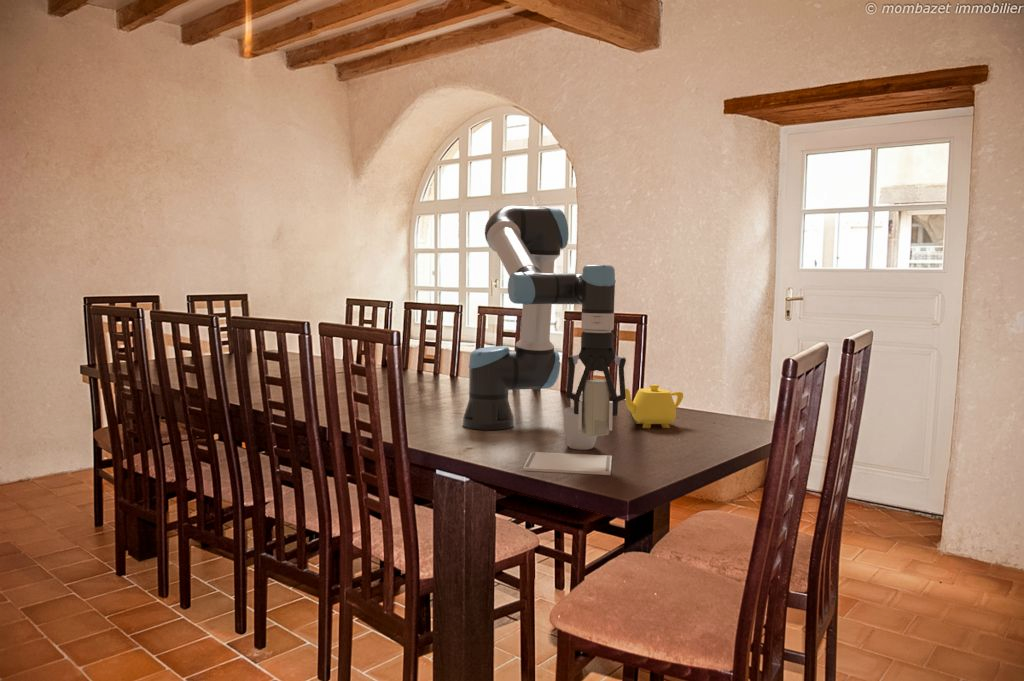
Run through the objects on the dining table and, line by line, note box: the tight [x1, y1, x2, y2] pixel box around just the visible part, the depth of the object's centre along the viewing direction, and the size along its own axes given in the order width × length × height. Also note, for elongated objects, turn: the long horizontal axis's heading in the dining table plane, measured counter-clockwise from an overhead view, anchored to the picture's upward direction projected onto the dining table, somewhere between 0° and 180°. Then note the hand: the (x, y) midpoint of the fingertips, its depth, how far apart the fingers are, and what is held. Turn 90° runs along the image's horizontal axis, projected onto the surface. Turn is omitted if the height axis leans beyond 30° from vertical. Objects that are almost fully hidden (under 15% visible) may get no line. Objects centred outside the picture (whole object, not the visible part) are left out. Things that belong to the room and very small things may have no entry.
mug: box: [563, 406, 598, 451], centre depth 196 cm, size 13×9×10 cm
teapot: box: [625, 383, 684, 429], centre depth 225 cm, size 13×20×12 cm
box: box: [581, 379, 610, 437], centre depth 175 cm, size 5×4×13 cm
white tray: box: [522, 451, 613, 476], centre depth 177 cm, size 16×20×1 cm
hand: (595, 428), depth 175 cm, fingers closed on box, 6 cm apart
